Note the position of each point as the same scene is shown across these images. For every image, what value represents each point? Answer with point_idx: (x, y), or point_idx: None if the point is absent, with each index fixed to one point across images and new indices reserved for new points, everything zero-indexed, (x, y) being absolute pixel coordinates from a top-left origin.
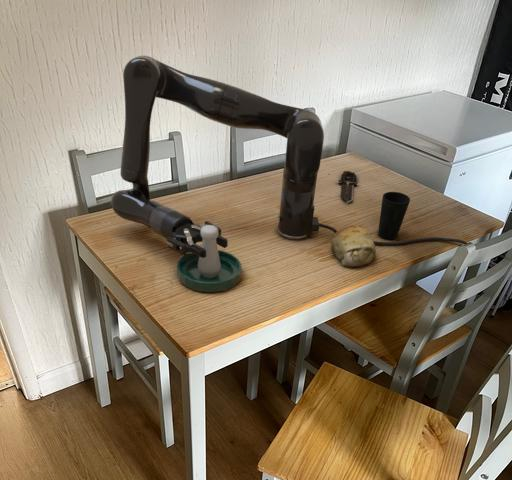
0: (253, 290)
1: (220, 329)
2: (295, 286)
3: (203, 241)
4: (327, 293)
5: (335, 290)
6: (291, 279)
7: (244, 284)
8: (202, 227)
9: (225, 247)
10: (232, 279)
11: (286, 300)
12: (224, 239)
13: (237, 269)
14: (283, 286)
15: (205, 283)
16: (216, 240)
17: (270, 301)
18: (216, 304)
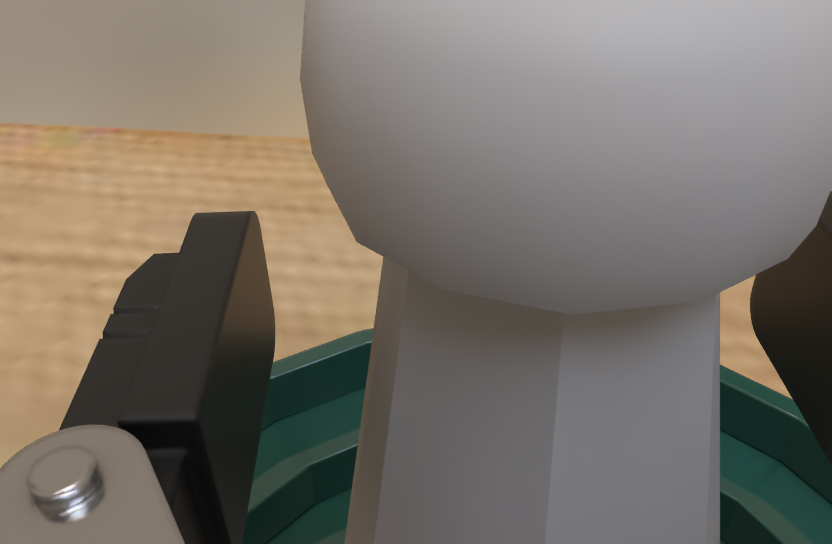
0: (341, 311)
1: None
2: (92, 215)
3: (716, 316)
4: (62, 127)
5: (7, 124)
6: (14, 261)
7: None
8: (766, 24)
9: (273, 316)
10: None
11: (278, 177)
12: (229, 223)
13: None
14: (141, 245)
15: (783, 400)
16: (232, 465)
17: None
18: (727, 341)
